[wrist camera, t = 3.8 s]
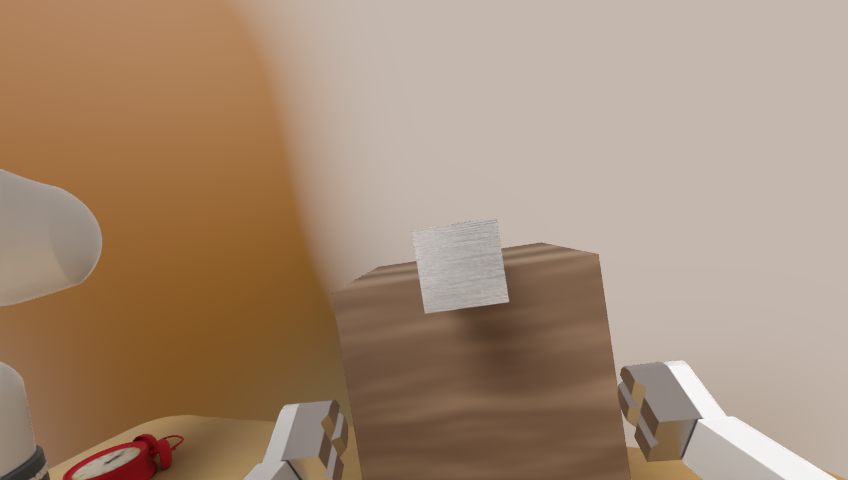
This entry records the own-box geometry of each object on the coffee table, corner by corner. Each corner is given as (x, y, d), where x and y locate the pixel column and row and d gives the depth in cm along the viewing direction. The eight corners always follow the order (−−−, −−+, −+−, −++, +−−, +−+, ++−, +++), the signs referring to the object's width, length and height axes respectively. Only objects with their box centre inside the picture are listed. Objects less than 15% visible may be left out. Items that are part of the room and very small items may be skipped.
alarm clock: (31, 485, 49) (151, 406, 61) (54, 521, 50) (167, 437, 63) (59, 504, 44) (184, 414, 56) (84, 544, 45) (200, 447, 58)
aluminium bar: (508, 301, 13) (496, 217, 13) (425, 313, 13) (411, 230, 13) (474, 253, 35) (469, 222, 35) (442, 258, 35) (437, 227, 35)
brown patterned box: (670, 682, 22) (609, 252, 21) (398, 695, 23) (331, 293, 23) (586, 504, 36) (547, 241, 35) (418, 519, 37) (378, 266, 37)
